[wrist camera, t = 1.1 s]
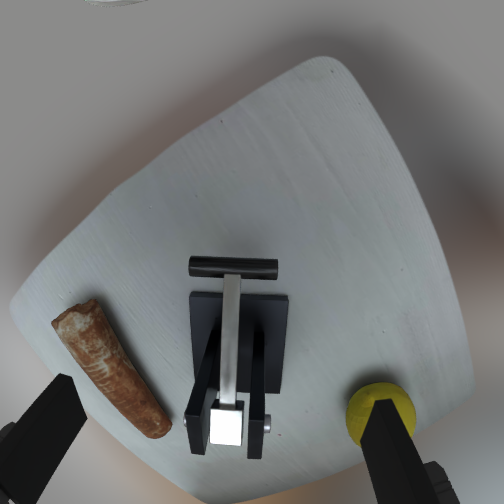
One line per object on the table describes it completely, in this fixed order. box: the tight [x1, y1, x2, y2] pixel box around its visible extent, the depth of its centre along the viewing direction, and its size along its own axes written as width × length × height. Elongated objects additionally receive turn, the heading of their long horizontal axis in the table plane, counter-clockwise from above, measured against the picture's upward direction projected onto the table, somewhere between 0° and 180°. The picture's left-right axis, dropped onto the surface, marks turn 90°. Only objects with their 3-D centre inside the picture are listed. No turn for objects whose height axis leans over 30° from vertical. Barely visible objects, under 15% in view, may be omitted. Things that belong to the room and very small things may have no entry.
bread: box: [51, 299, 172, 439], centre depth 28 cm, size 6×19×6 cm, turn 21°
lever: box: [188, 256, 278, 446], centre depth 20 cm, size 13×6×2 cm, turn 178°
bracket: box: [184, 292, 289, 459], centre depth 23 cm, size 11×9×13 cm
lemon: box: [346, 382, 416, 447], centre depth 27 cm, size 11×8×8 cm
